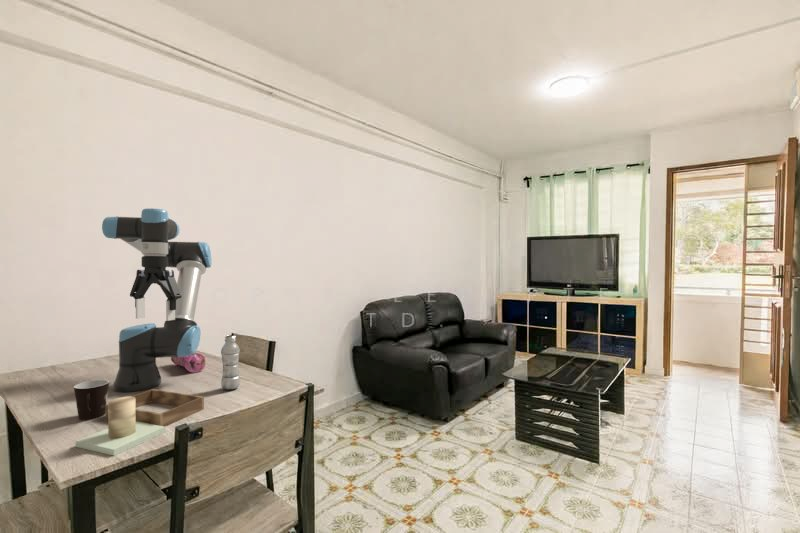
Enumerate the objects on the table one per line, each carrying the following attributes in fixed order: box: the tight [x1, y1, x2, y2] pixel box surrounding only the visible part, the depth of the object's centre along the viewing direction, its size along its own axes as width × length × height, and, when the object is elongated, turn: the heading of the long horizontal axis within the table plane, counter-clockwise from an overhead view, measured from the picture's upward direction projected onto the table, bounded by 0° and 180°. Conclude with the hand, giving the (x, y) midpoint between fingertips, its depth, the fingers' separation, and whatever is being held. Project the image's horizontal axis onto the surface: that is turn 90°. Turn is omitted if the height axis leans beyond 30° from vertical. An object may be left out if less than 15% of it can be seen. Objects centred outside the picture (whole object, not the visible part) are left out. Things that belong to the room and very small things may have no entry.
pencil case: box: [170, 351, 206, 373], centre depth 173 cm, size 21×9×9 cm, turn 47°
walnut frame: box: [104, 388, 205, 428], centre depth 122 cm, size 23×16×4 cm
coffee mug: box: [73, 379, 110, 421], centre depth 118 cm, size 12×9×10 cm
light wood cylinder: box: [107, 396, 137, 439], centre depth 104 cm, size 6×6×9 cm
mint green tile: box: [75, 421, 166, 456], centre depth 104 cm, size 14×14×2 cm
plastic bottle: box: [220, 334, 241, 391], centre depth 145 cm, size 6×7×20 cm
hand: (155, 319), depth 129 cm, fingers open, 13 cm apart
